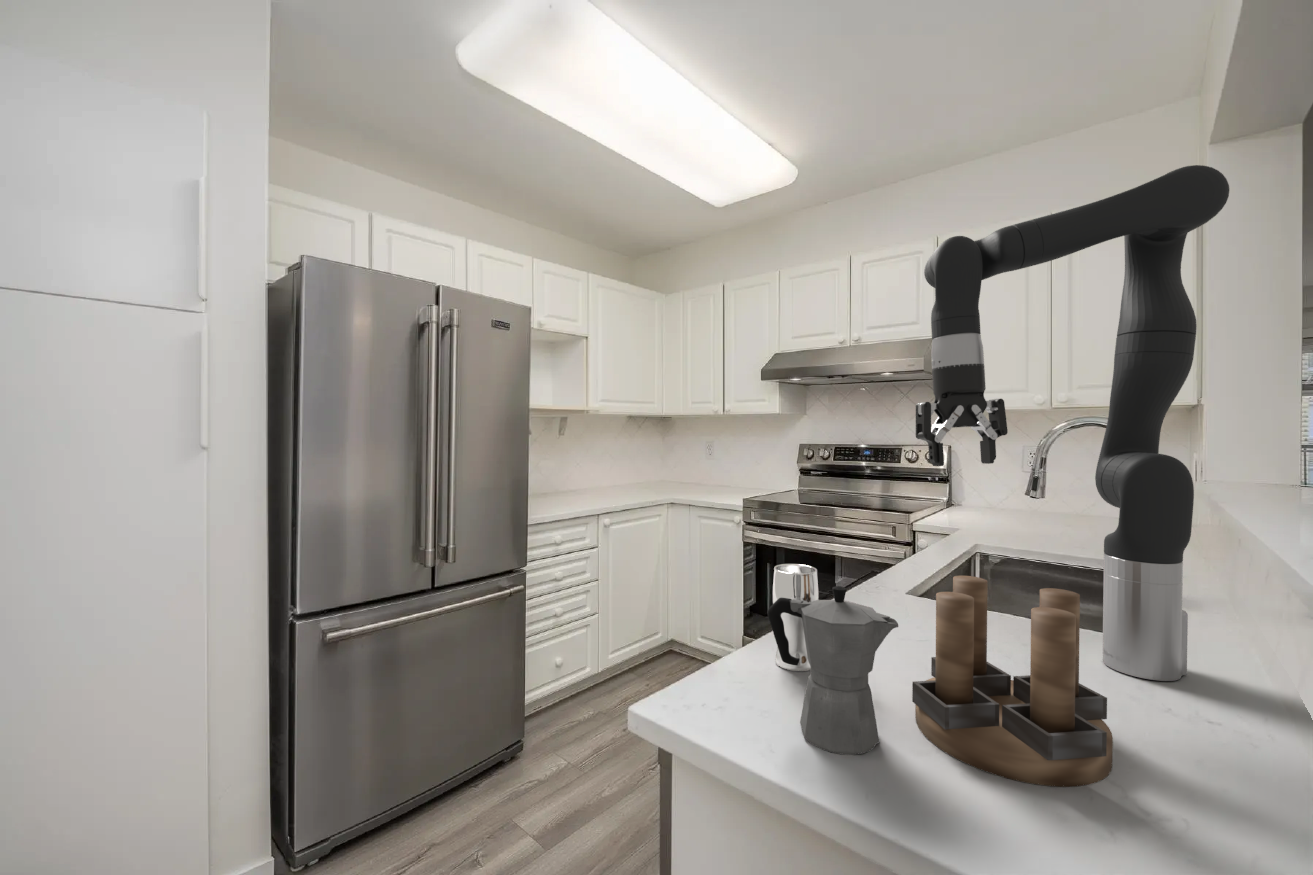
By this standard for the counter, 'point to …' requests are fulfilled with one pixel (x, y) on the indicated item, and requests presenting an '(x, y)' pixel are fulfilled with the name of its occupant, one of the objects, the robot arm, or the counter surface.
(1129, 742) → the counter surface
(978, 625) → the loose leg
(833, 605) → the coffeepot
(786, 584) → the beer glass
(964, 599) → the stool seat
